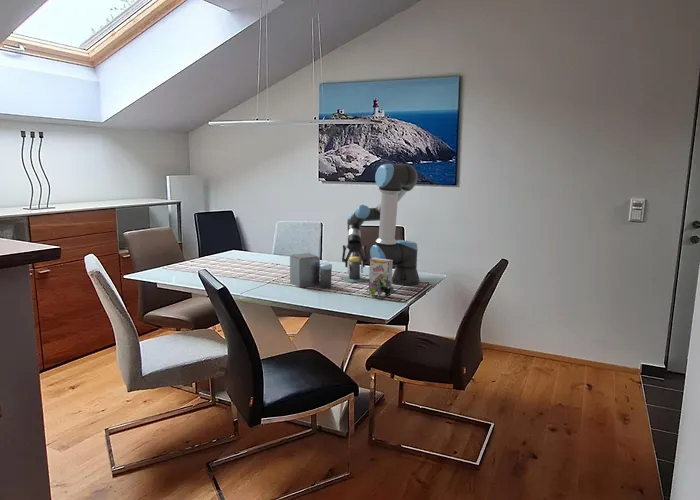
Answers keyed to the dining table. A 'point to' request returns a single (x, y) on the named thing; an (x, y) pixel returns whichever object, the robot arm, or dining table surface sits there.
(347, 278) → the mat
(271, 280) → the dining table surface
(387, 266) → the candy bar box
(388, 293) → the passion flower
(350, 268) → the cylinder
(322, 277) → the blue
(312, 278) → the box
